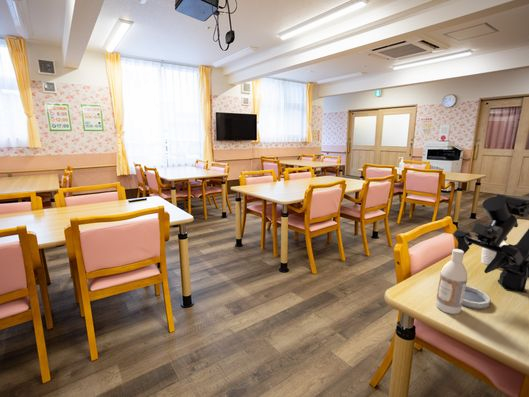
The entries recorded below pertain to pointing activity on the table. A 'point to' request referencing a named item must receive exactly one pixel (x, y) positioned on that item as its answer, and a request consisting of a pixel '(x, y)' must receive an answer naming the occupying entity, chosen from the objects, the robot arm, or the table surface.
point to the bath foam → (452, 284)
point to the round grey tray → (475, 298)
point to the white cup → (489, 254)
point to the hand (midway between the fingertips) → (469, 265)
